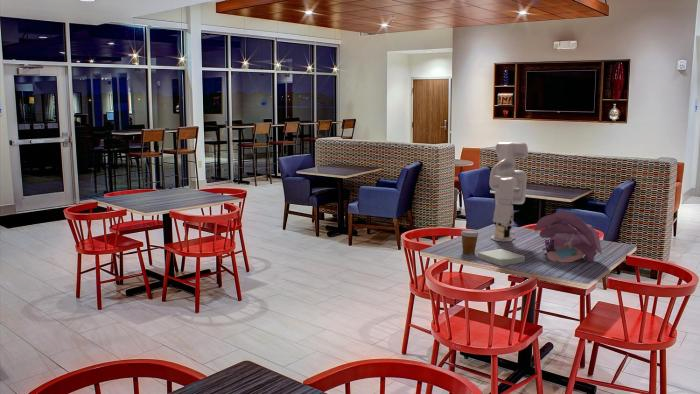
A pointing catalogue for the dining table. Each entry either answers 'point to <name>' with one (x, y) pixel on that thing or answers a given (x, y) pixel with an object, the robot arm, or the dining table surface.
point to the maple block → (500, 231)
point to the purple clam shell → (568, 237)
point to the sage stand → (501, 257)
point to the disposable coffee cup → (469, 241)
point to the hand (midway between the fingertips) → (502, 235)
